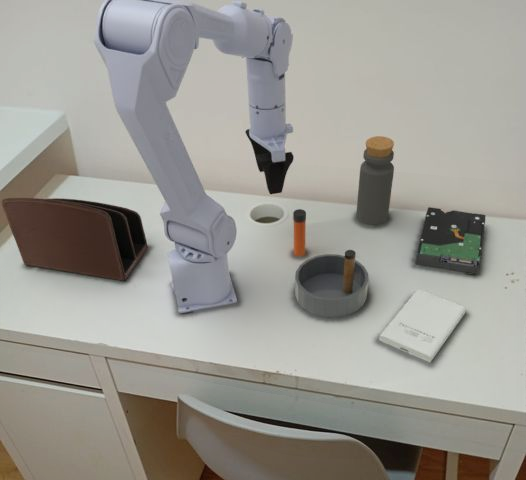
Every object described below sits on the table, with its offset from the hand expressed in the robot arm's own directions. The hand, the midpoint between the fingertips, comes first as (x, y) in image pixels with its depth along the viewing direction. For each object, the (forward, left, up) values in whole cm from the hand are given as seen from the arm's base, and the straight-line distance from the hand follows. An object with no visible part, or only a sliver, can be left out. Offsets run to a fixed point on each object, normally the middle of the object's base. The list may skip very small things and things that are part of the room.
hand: (270, 181), depth 99 cm
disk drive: (+29, -13, -11) cm, 34 cm away
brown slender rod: (+8, -20, -10) cm, 24 cm away
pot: (+5, -20, -10) cm, 23 cm away
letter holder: (-34, +2, -11) cm, 35 cm away
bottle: (+19, -1, -11) cm, 22 cm away
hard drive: (+16, -31, -11) cm, 36 cm away
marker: (+3, -8, -10) cm, 13 cm away
